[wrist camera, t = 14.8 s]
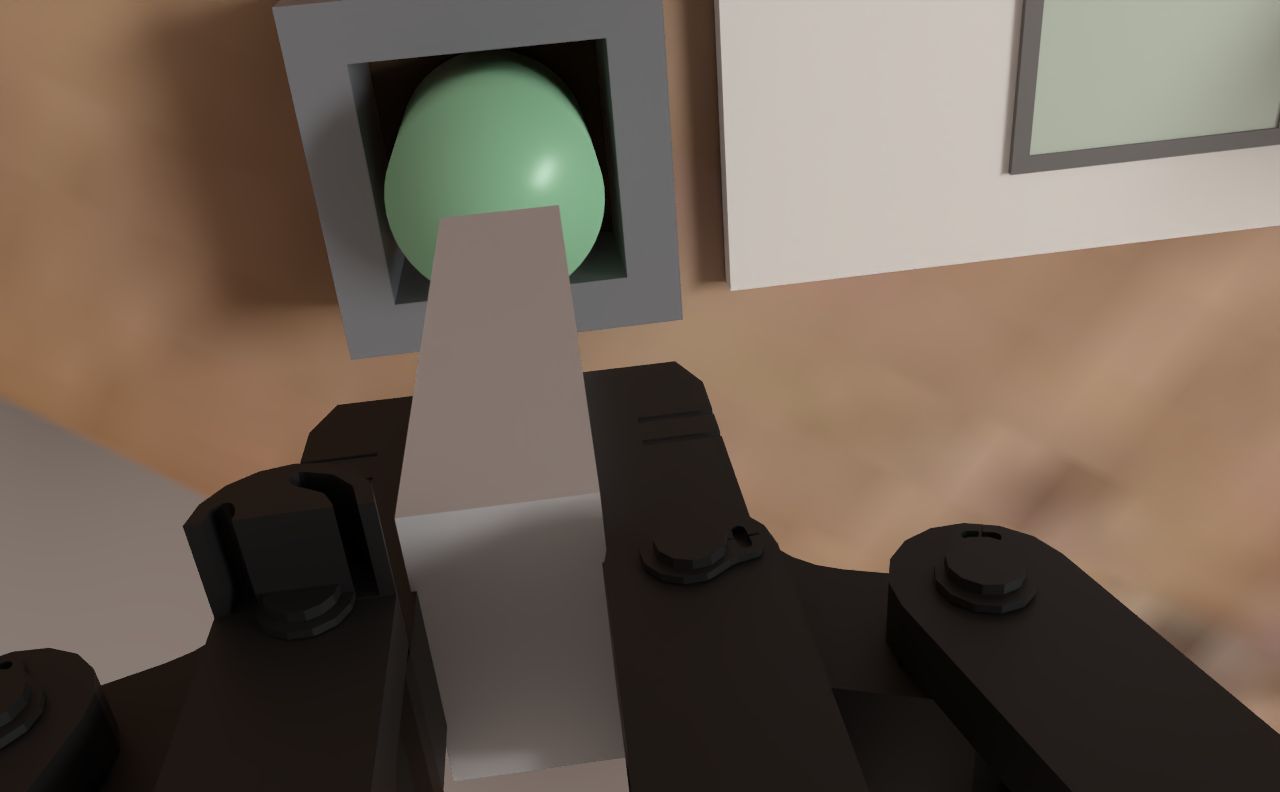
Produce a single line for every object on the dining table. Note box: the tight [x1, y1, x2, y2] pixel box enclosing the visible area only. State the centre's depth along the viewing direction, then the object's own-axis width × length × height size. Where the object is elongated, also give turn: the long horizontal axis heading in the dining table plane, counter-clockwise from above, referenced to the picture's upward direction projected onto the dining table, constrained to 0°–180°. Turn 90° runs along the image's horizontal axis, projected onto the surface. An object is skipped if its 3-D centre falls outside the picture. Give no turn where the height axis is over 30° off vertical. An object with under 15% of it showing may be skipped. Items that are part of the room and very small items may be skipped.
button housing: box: [272, 0, 683, 360], centre depth 22 cm, size 7×7×3 cm
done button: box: [384, 49, 605, 281], centre depth 22 cm, size 4×4×4 cm
